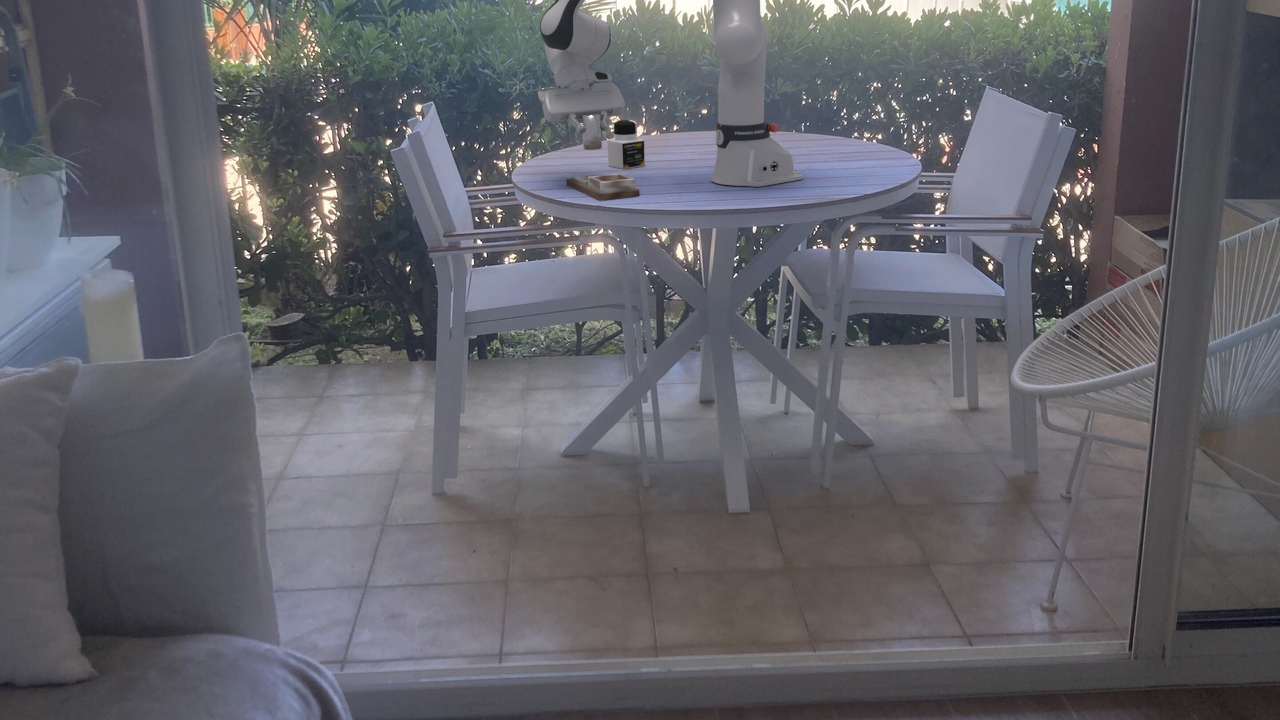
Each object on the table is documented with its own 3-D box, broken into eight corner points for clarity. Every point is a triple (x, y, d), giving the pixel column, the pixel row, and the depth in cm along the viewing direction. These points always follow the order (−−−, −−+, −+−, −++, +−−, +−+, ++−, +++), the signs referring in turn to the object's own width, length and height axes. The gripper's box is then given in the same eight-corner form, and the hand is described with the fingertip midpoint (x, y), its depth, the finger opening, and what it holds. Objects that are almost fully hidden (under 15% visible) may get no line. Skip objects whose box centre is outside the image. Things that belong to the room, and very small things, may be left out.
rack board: (604, 180, 285) (603, 164, 283) (639, 196, 266) (639, 179, 264) (566, 184, 281) (565, 168, 280) (599, 200, 262) (599, 183, 261)
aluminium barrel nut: (597, 146, 278) (595, 113, 275) (604, 148, 274) (602, 114, 271) (580, 148, 276) (578, 114, 274) (587, 150, 272) (585, 116, 270)
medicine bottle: (623, 169, 299) (622, 123, 295) (607, 166, 304) (606, 120, 300) (645, 166, 303) (644, 120, 298) (629, 162, 308) (628, 118, 304)
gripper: (537, 80, 272) (554, 126, 267) (616, 73, 279) (634, 117, 274) (533, 97, 277) (549, 142, 272) (610, 90, 285) (627, 134, 280)
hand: (592, 130), depth 273 cm, fingers closed on aluminium barrel nut, 4 cm apart
